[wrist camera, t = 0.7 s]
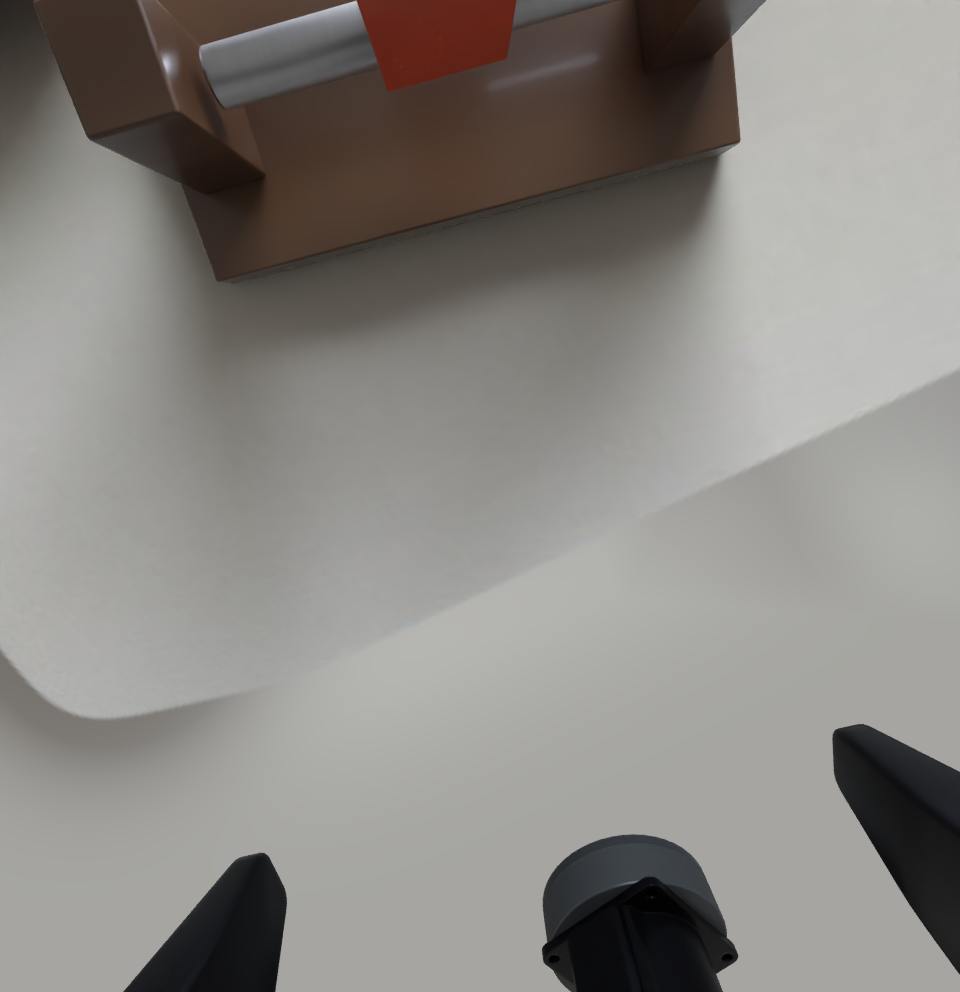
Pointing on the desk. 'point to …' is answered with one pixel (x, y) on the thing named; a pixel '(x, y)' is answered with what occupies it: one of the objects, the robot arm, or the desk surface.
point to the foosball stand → (395, 120)
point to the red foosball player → (371, 44)
